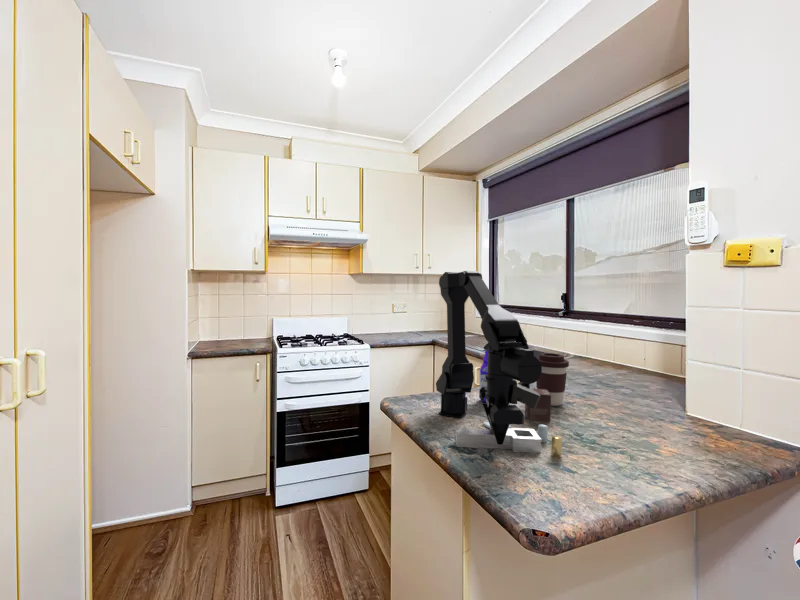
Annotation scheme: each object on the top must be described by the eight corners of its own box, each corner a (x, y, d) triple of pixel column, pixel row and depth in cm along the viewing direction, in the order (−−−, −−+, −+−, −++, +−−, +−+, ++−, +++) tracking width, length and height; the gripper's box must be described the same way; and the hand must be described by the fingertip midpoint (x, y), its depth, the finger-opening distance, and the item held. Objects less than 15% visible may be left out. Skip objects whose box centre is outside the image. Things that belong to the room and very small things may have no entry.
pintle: (550, 457, 82) (551, 438, 81) (551, 453, 83) (551, 435, 83) (561, 458, 81) (561, 440, 81) (561, 455, 83) (561, 436, 82)
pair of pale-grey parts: (478, 433, 94) (478, 414, 94) (485, 420, 103) (485, 402, 103) (546, 444, 88) (547, 424, 88) (547, 429, 97) (548, 411, 97)
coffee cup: (569, 401, 121) (571, 354, 121) (564, 409, 113) (566, 359, 112) (537, 396, 127) (538, 350, 126) (529, 403, 118) (531, 355, 118)
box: (550, 422, 103) (551, 395, 102) (527, 420, 104) (527, 393, 103) (546, 414, 109) (547, 389, 108) (524, 412, 110) (525, 387, 109)
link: (532, 441, 90) (532, 428, 89) (540, 452, 84) (541, 439, 83) (455, 438, 90) (455, 426, 90) (457, 449, 84) (458, 436, 84)
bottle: (476, 401, 119) (478, 346, 119) (482, 397, 124) (484, 343, 123) (499, 406, 115) (501, 348, 115) (505, 401, 120) (506, 346, 120)
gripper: (551, 384, 77) (548, 461, 77) (525, 365, 95) (523, 427, 96) (495, 383, 77) (492, 459, 78) (479, 363, 96) (478, 425, 96)
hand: (498, 441), depth 87 cm, fingers closed on link, 3 cm apart
